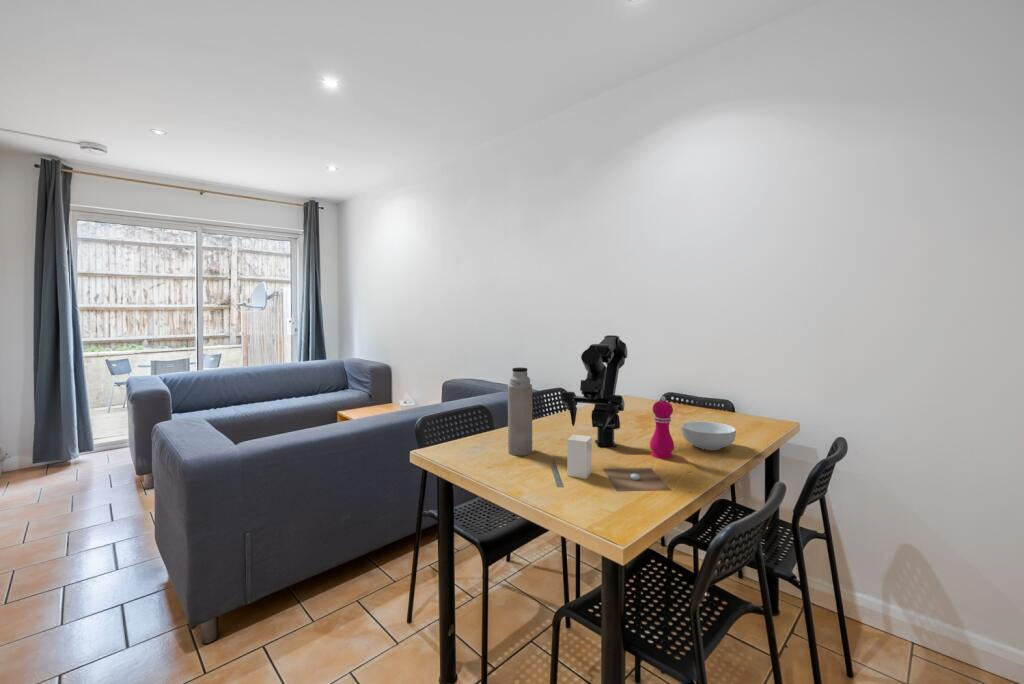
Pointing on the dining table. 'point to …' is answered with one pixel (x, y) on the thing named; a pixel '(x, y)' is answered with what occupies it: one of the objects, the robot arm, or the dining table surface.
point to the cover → (579, 456)
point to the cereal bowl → (708, 434)
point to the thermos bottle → (520, 413)
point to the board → (625, 483)
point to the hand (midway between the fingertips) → (588, 427)
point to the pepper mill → (662, 430)
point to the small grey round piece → (635, 476)
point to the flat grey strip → (557, 476)
